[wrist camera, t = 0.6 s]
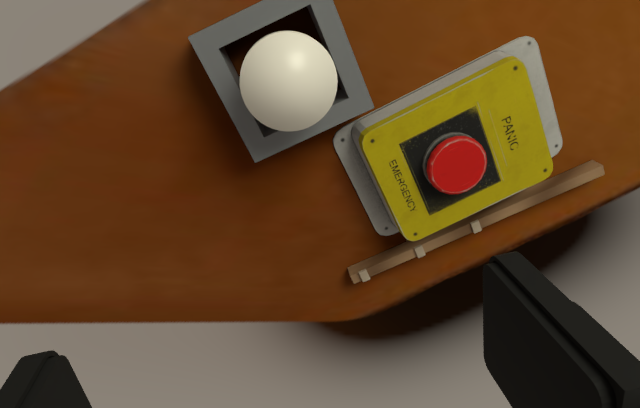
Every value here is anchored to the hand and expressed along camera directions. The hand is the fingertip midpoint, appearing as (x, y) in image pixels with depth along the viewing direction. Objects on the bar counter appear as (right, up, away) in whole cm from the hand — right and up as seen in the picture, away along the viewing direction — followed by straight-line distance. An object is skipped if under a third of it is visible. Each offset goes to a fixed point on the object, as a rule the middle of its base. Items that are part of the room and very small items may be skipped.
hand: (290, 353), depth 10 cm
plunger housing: (-2, +12, +19) cm, 22 cm away
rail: (+12, +2, +25) cm, 28 cm away
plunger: (-1, +11, +17) cm, 20 cm away
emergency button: (+10, +8, +23) cm, 26 cm away
